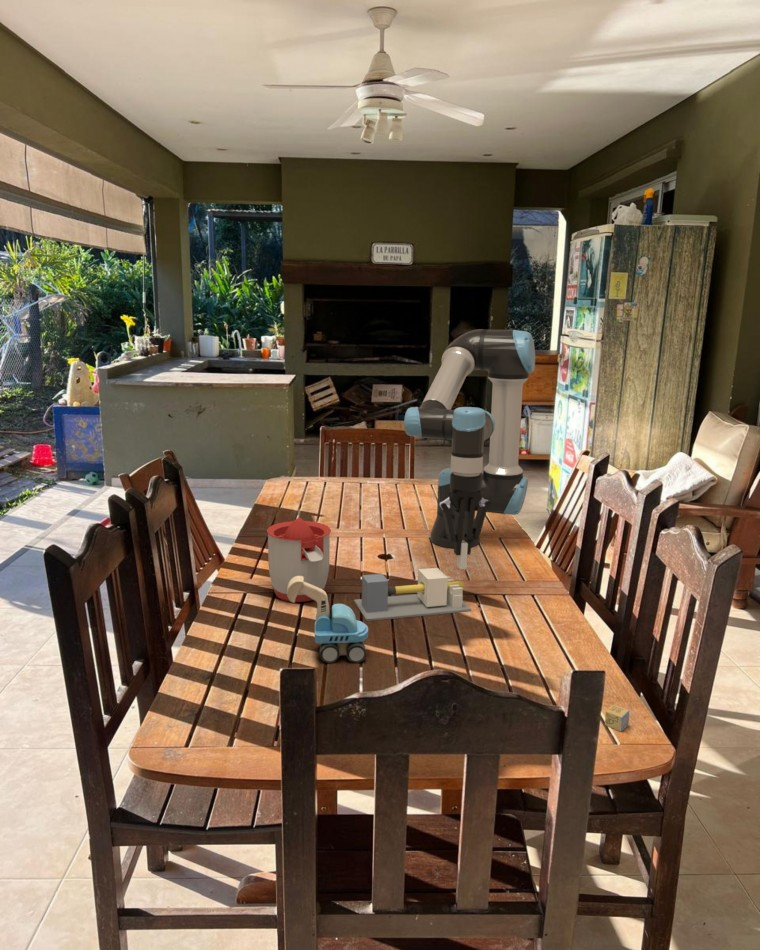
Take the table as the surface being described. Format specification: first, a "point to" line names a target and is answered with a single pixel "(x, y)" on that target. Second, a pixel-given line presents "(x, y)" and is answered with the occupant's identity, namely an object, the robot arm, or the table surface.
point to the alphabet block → (617, 718)
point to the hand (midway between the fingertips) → (461, 567)
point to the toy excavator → (332, 624)
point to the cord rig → (404, 599)
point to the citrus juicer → (298, 555)
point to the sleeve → (433, 587)
